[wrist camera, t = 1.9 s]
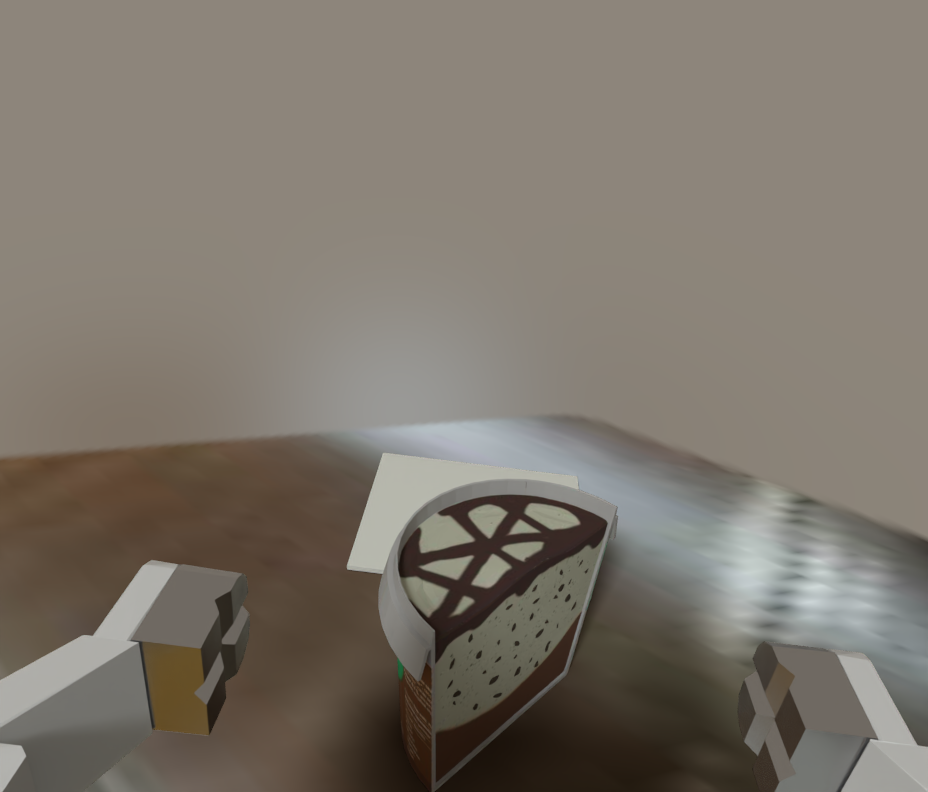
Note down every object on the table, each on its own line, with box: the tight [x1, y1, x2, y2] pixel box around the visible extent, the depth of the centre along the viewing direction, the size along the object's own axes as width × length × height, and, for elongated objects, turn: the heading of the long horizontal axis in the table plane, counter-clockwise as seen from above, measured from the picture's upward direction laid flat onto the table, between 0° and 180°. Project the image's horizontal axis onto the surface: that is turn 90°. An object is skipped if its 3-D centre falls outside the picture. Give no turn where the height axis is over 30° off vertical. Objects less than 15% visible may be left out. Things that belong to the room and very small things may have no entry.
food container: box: [378, 479, 618, 792], centre depth 32 cm, size 12×6×10 cm, turn 135°
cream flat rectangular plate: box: [347, 453, 592, 600], centre depth 46 cm, size 14×12×1 cm
